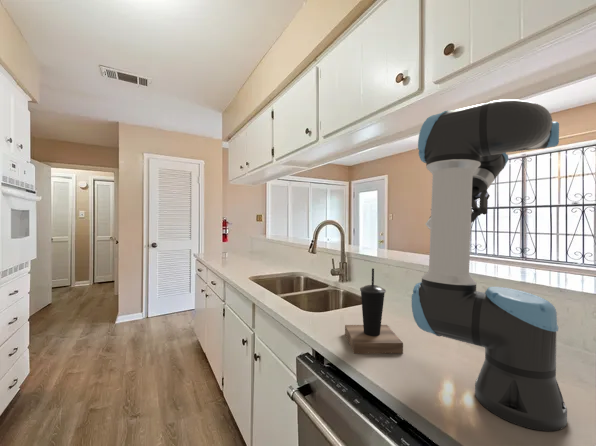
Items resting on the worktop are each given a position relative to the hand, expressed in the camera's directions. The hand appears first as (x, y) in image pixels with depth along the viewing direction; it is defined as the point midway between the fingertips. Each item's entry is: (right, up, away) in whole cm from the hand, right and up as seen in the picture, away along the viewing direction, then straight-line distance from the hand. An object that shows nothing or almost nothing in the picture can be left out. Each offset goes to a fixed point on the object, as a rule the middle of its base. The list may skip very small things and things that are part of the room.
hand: (443, 227), depth 97 cm
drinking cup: (-26, -33, -7) cm, 42 cm away
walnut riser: (-26, -36, -7) cm, 45 cm away
